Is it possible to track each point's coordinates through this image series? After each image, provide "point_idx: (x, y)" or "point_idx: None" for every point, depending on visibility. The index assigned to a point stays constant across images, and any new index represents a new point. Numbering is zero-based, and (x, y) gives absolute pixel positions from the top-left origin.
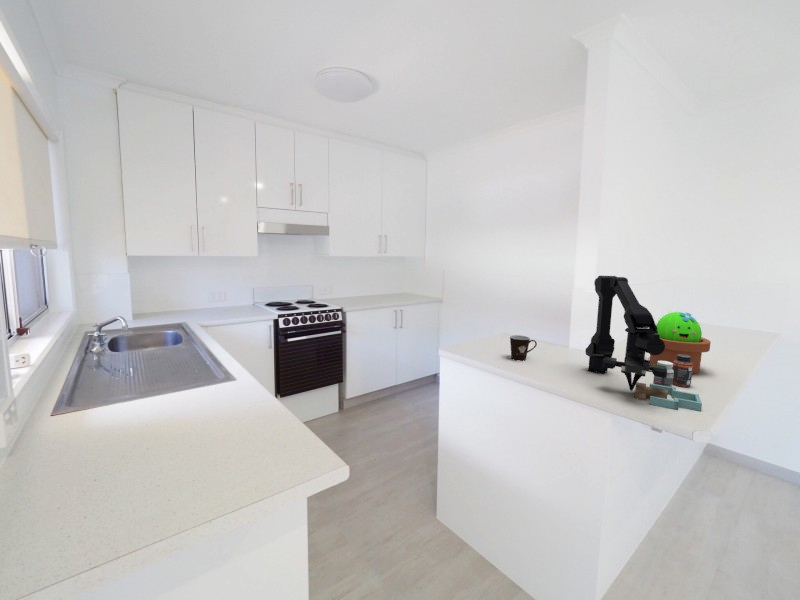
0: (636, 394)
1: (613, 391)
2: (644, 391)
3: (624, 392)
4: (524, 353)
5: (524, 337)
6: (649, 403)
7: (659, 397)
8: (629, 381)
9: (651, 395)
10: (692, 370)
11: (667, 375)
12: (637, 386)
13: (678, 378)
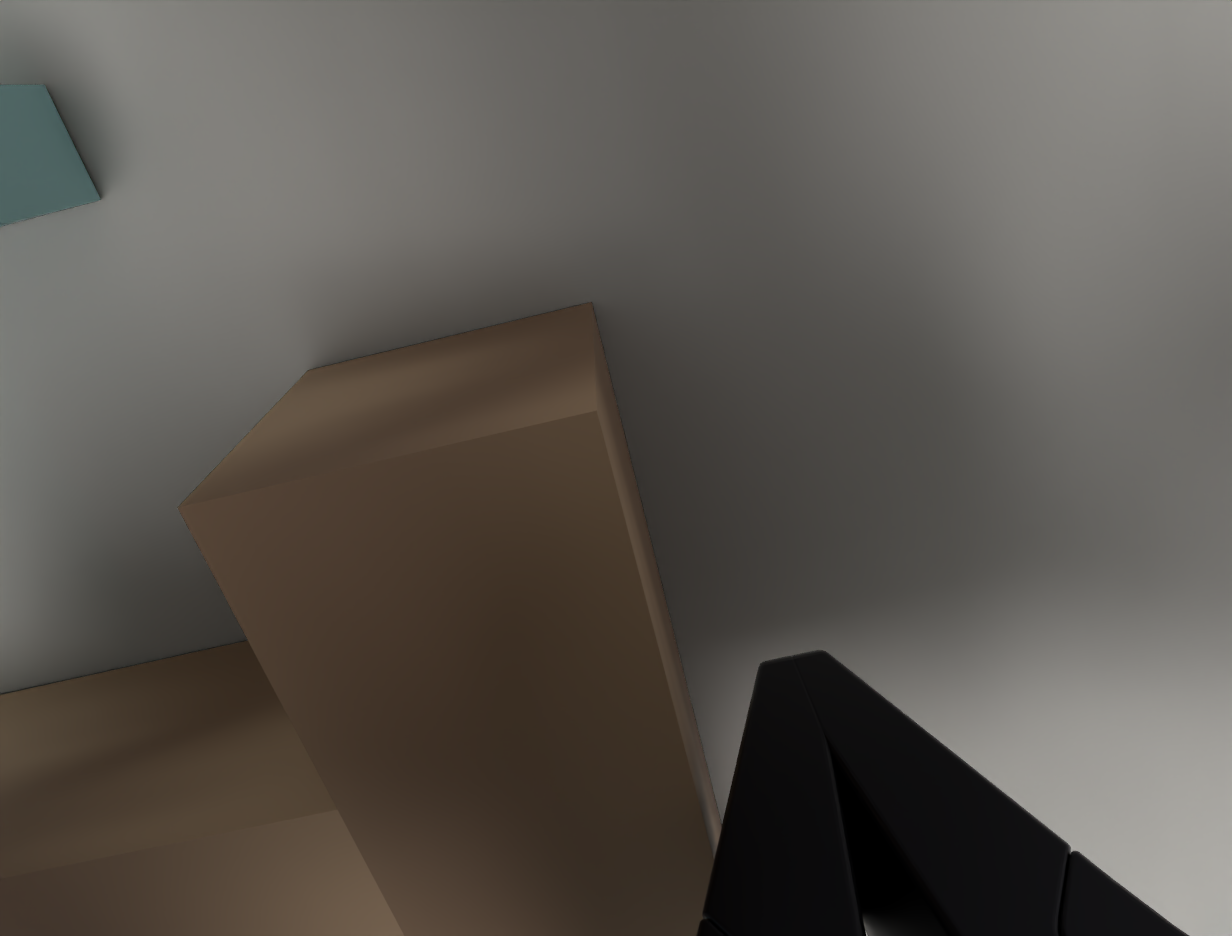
0: (545, 359)
1: (1218, 413)
2: (239, 496)
3: (927, 568)
4: None
5: None
6: (71, 145)
7: (48, 726)
8: (1009, 873)
9: (232, 694)
10: None
11: None
12: (648, 835)
13: None
